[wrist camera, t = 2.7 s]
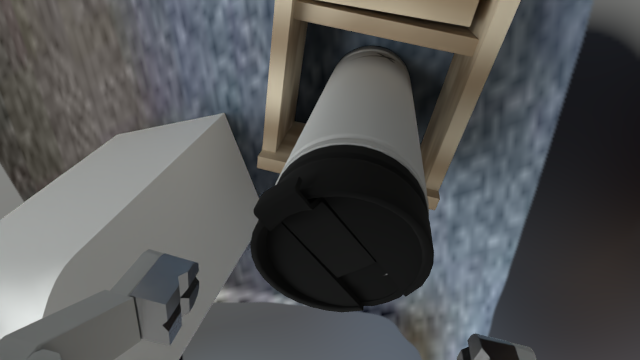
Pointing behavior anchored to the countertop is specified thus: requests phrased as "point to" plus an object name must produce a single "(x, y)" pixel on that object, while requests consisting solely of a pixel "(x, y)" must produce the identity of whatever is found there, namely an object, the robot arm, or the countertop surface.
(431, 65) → the countertop surface
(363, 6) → the offcut top
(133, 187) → the milk
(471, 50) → the birch rack
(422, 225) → the travel mug
